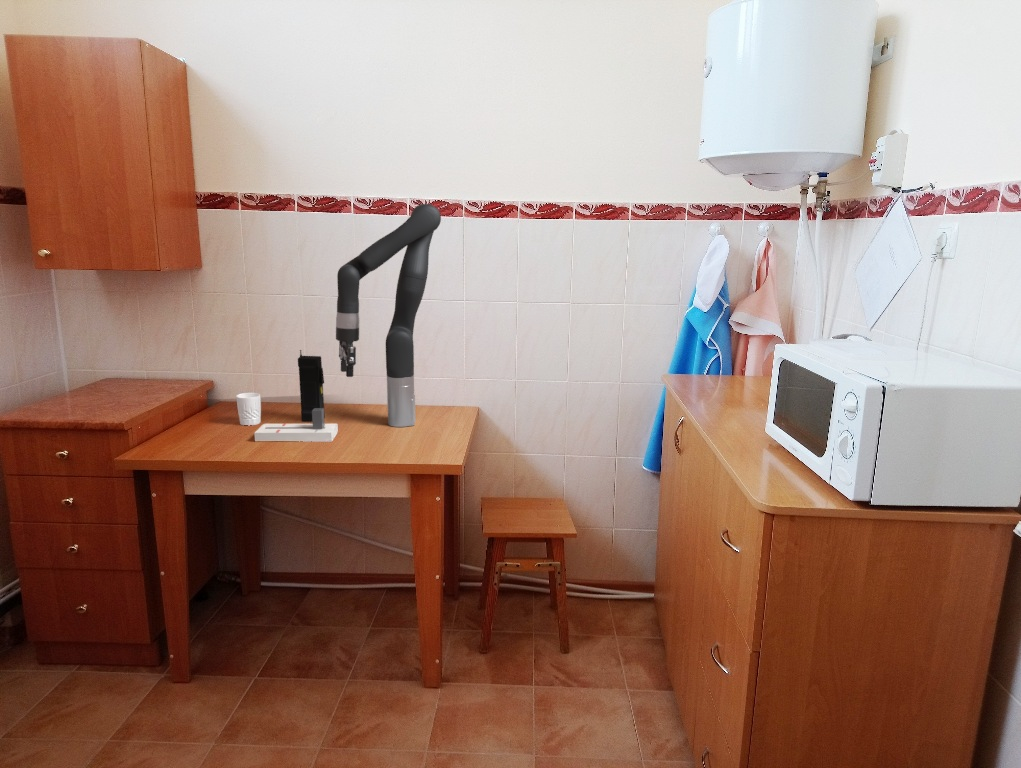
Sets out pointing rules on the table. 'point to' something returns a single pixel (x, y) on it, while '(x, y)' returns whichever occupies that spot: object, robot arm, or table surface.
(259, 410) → the white cup
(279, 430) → the panel
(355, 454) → the table surface
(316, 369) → the portable radio
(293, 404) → the table surface
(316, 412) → the fader tab
